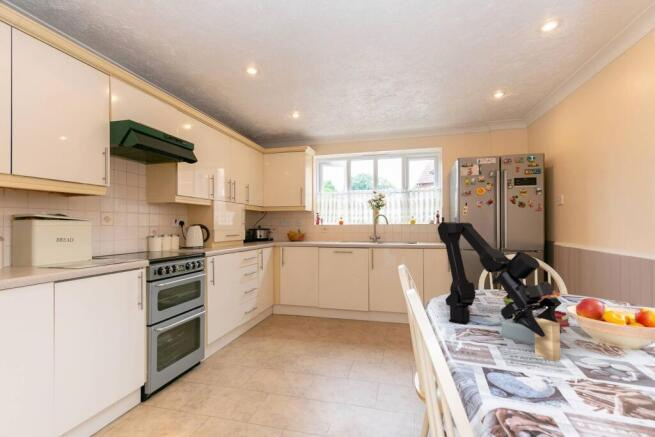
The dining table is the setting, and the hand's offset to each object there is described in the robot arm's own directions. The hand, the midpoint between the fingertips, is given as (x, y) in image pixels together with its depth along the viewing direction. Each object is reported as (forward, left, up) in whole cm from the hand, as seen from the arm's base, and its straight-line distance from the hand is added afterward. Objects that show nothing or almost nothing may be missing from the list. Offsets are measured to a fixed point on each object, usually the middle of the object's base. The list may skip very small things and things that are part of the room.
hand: (551, 335), depth 84 cm
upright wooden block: (-1, +1, -7) cm, 7 cm away
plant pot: (-11, +33, -7) cm, 35 cm away
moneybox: (-7, +14, -7) cm, 17 cm away
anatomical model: (0, +39, -7) cm, 39 cm away
